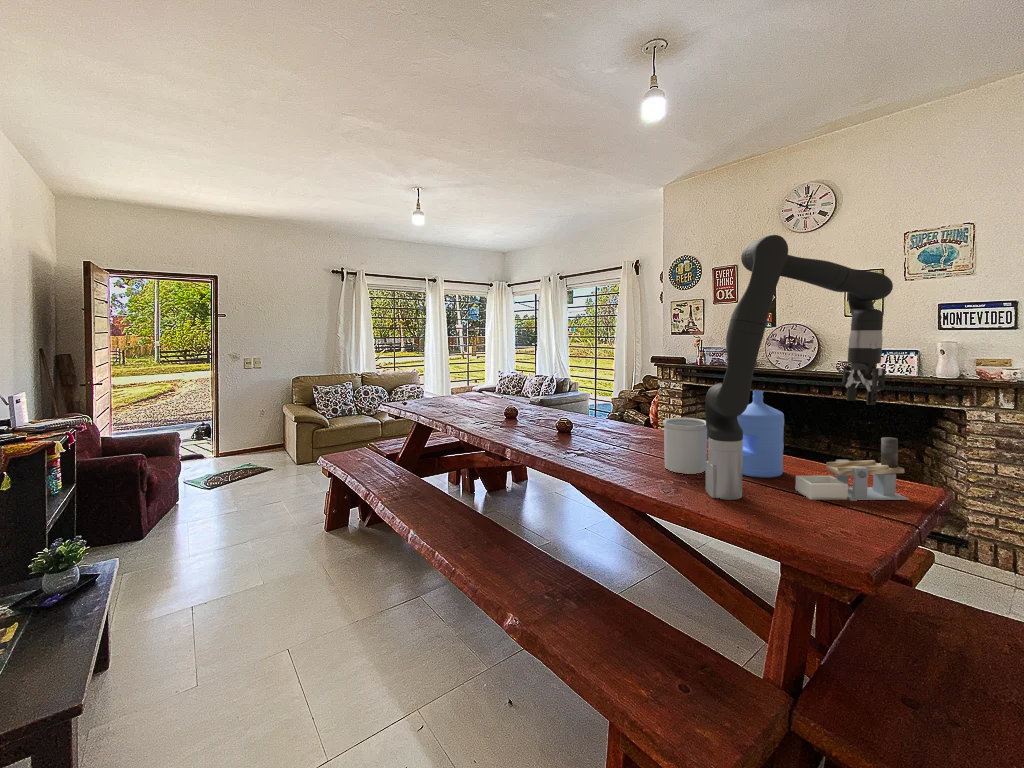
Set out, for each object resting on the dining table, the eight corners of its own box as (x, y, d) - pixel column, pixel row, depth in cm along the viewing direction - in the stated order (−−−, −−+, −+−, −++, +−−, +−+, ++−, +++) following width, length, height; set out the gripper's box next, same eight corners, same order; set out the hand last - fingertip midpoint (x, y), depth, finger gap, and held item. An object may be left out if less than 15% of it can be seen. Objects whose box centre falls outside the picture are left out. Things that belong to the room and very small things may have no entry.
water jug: (769, 465, 159) (771, 388, 156) (792, 478, 144) (794, 393, 141) (724, 465, 161) (725, 389, 158) (742, 478, 145) (743, 394, 142)
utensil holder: (715, 475, 150) (715, 424, 148) (671, 476, 150) (671, 425, 149) (697, 463, 165) (698, 417, 163) (657, 464, 165) (657, 418, 163)
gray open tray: (810, 499, 125) (811, 484, 125) (795, 490, 133) (795, 475, 133) (847, 499, 124) (848, 484, 124) (829, 490, 132) (830, 475, 132)
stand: (850, 500, 123) (852, 468, 122) (829, 489, 133) (830, 459, 132) (908, 500, 122) (910, 468, 121) (883, 489, 131) (884, 459, 131)
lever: (839, 475, 125) (839, 443, 124) (826, 469, 131) (825, 438, 130) (904, 473, 123) (904, 440, 122) (888, 466, 129) (888, 435, 128)
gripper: (835, 346, 133) (831, 399, 135) (868, 347, 119) (863, 406, 121) (862, 346, 133) (858, 399, 134) (898, 346, 119) (893, 406, 120)
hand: (860, 402), depth 128 cm, fingers open, 8 cm apart
